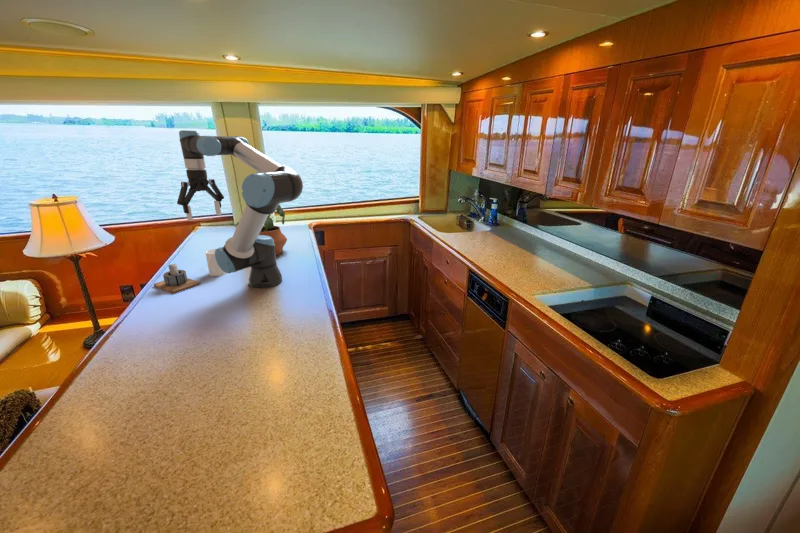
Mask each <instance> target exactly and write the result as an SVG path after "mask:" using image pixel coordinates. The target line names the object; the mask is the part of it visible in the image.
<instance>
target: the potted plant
mask: <svg viewBox="0 0 800 533" xmlns="http://www.w3.org/2000/svg"><path fill="white" fill-rule="evenodd" d="M276 213H277V214H275V216H276V215H278V216H280V218H281V217H282V218H281V224H282V225H284V224H285V217H286V213H285V211H284V209H283V208H282V206H281V205H280V204H279V205H278V207H277V209H276ZM271 215H272V214H270V215H268V217H267V219H266V221H265V223H264V225H263V227H262V229H261V231H260V233H259V235H266V236H270V237H272V238H273V240H274V244H275V254H276V256H278V255H281V254H282V253H283V250H284V246H286V243H287V241H288V238H287V237H286V236H285V235H284V233H283V232H282V230H281V228H280V226H277V225H274V221H275V220H274V219H273V218H274V216H272V217H270V216H271ZM238 223H239V221H238V222H236V223H235V224H234V226H236V227H237V225H238Z"/></svg>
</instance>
